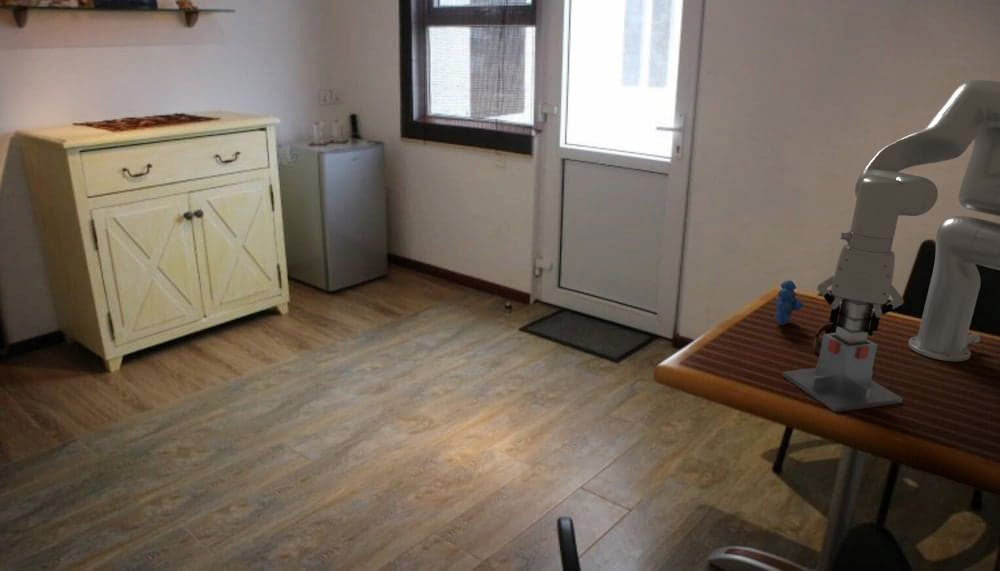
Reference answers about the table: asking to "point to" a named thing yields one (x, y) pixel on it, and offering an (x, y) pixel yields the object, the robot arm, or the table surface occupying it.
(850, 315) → the column
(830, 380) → the stand base
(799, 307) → the blue lumpy cluster
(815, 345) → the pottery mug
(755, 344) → the table surface
